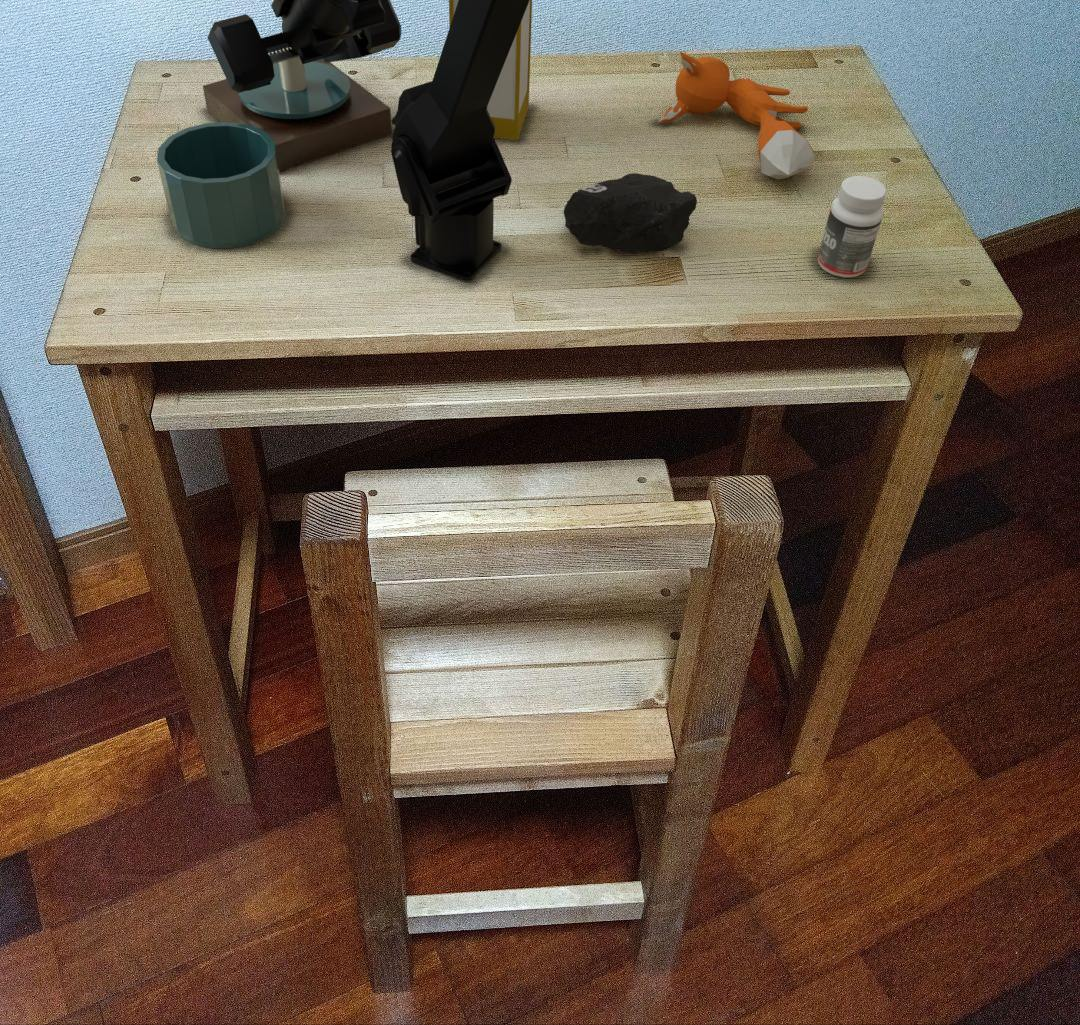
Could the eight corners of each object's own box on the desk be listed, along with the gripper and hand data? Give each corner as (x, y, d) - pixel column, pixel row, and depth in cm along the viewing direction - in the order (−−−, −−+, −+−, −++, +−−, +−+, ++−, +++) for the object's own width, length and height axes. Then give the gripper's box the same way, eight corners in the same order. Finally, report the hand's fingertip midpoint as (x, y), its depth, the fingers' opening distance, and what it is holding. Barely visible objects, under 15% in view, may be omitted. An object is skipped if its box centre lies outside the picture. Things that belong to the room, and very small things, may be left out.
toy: (779, 42, 128) (662, 31, 123) (879, 142, 114) (751, 134, 109) (754, 110, 134) (641, 102, 128) (846, 213, 120) (723, 209, 114)
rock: (621, 279, 106) (629, 225, 101) (554, 236, 110) (559, 182, 105) (693, 241, 111) (703, 188, 106) (627, 201, 115) (634, 148, 110)
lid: (372, 104, 120) (368, 56, 116) (273, 136, 115) (266, 87, 111) (316, 61, 126) (310, 14, 122) (220, 89, 121) (211, 41, 117)
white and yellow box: (440, 158, 119) (433, -81, 101) (465, 100, 127) (462, -130, 110) (508, 167, 118) (513, -73, 101) (528, 108, 127) (536, -123, 109)
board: (392, 134, 122) (390, 108, 119) (275, 173, 116) (271, 146, 113) (320, 77, 129) (317, 52, 127) (207, 111, 123) (202, 85, 121)
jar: (301, 196, 113) (292, 131, 108) (259, 257, 106) (247, 190, 101) (201, 179, 114) (188, 114, 109) (153, 238, 107) (136, 171, 102)
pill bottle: (813, 248, 110) (833, 171, 104) (862, 251, 110) (885, 174, 104) (820, 277, 107) (841, 199, 101) (870, 280, 107) (894, 202, 101)
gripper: (379, -104, 108) (330, -27, 122) (197, -63, 100) (167, 15, 114) (428, 10, 110) (374, 73, 124) (254, 59, 102) (217, 121, 116)
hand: (286, 68), depth 119 cm, fingers open, 9 cm apart
